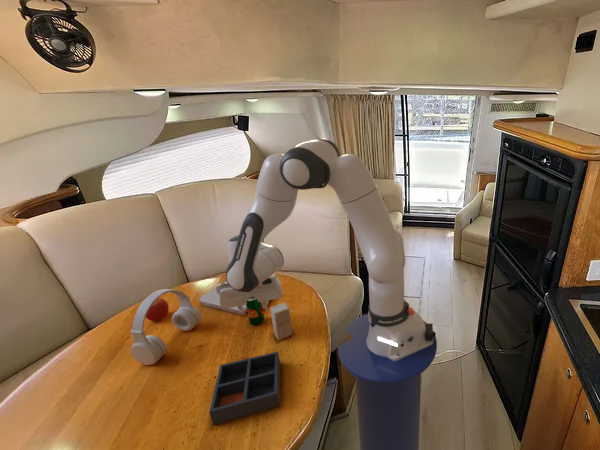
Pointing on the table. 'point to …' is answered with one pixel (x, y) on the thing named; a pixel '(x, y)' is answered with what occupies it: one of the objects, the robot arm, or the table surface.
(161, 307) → the apple
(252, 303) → the soda can
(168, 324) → the table surface
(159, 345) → the headphones
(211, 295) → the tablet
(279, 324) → the box
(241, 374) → the grid
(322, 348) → the table surface
